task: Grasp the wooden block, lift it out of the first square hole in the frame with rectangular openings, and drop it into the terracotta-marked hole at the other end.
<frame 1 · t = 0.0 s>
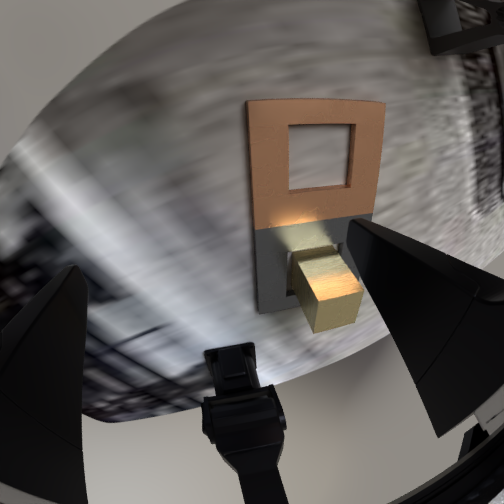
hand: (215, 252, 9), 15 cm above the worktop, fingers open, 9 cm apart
phone stand: (438, 15, 16), on the worktop
frame with rectangular openings: (315, 216, 27), on the worktop
wooden block: (311, 265, 30), resting in frame with rectangular openings
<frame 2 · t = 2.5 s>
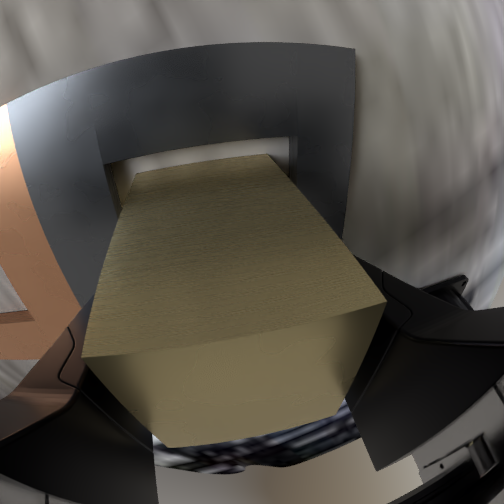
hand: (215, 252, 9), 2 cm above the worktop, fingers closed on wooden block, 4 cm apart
frame with rectangular openings: (62, 247, 10), on the worktop
wooden block: (209, 219, 10), resting in frame with rectangular openings, touching gripper
when the fingers open (3 cm above the worktop, at t = 7.0 s): wooden block drops 2 cm, resting in frame with rectangular openings.
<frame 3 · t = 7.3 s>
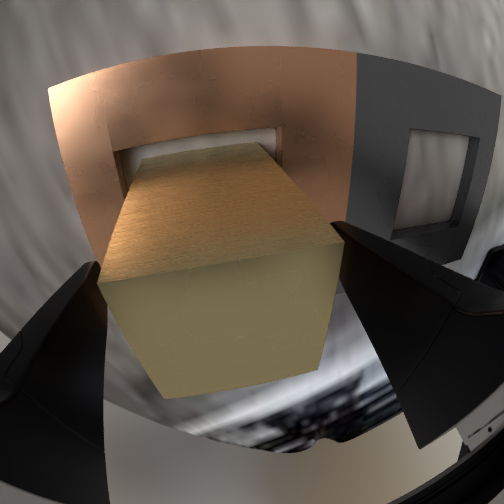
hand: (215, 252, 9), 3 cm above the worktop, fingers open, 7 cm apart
frame with rectangular openings: (340, 185, 12), on the worktop
wooden block: (205, 200, 12), resting in frame with rectangular openings
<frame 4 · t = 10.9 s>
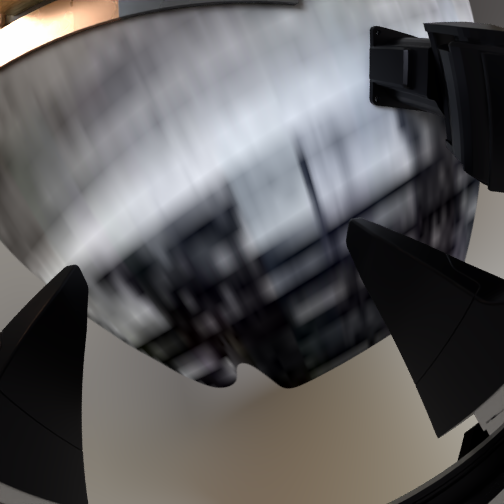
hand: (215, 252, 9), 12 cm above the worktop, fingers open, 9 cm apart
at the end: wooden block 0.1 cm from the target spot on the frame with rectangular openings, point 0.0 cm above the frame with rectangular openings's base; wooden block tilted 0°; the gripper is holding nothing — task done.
